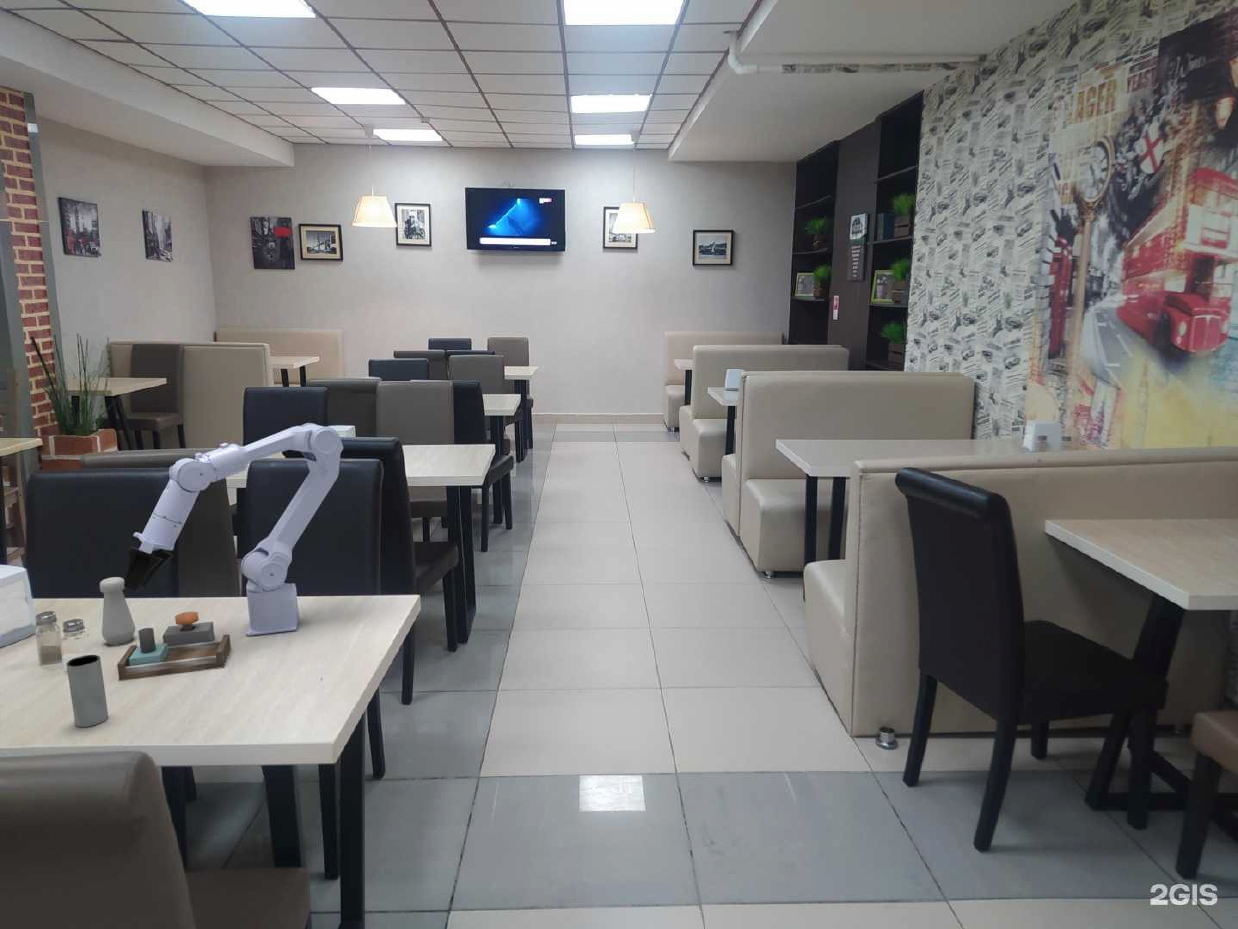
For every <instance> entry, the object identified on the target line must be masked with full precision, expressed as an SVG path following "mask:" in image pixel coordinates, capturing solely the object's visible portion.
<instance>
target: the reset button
mask: <svg viewBox="0 0 1238 929" xmlns="http://www.w3.org/2000/svg"><path fill="white" fill-rule="evenodd" d="M199 618H200V617H199V613H198V611H186V612H185V611H184V612H182V613H178V614H177V615H175V616H174V619H175V620H174V621H175V624H176V626H177V625H183V630H184V631H189V630H193V624H195V623H198V621H199Z"/></svg>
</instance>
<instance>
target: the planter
mask: <svg viewBox="0 0 1238 929" xmlns="http://www.w3.org/2000/svg"><path fill="white" fill-rule="evenodd" d="M65 666H66V672H67V678H68V685H69V691H70V699H71V704H72V705H71V706H72V712H73V713H72V714H73V718H74V724H75V726H76V727H80V728H87V727H93V725H94V726H96V725H99V724H102V723H104V722H105V721H106V720H108V718H109V711H108V710H109V709H108V704H107V696H106V690H105V683H104V681H105V680H104V676H103V675H104V674H103V667H102V659H101V656H100V655H98V654H86V655H81V656H77V657H75V658H72V659H71V660H68V661H67V662H66V665H65Z"/></svg>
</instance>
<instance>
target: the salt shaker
mask: <svg viewBox="0 0 1238 929" xmlns="http://www.w3.org/2000/svg"><path fill="white" fill-rule="evenodd" d="M124 582H125V579H124V578H123V577H119V576H114V577H113V576H112V577H108V578H105V579H103V580H101V581H100V582H99V590H100V591H99V592H101V593H102V594H103V606H102V609H103V610H102V623H101V635H102V637H103V639H104V640H105V642H106V643H107V645H110V646H111V645H112V646H119V645H125V644H127V643H128V642H130V641H132V640H133V637H134V635H135V632H136V625H135V623H134V619H133V616H132V614H131V612H130V608H129V606H128V603H127V600H126V598H125V594H124V592H123V590H124V589H126V587H124Z"/></svg>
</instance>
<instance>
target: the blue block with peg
mask: <svg viewBox="0 0 1238 929" xmlns="http://www.w3.org/2000/svg"><path fill="white" fill-rule="evenodd" d="M137 632H138V638H139V641H138V642H139V646H137V648H136V649H135V651H134V652H133V654H132V655H131V657H130V658H129V664H130V666H135V665H143V664H151V663H159V662H163V661H164V660H165V658H166V656H167V655H168V645H167V643H156V641H155V640H156V639H155V638H156V637H155V632H154V628H153V627H145V628H141V629H139V630H138V631H137Z"/></svg>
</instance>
